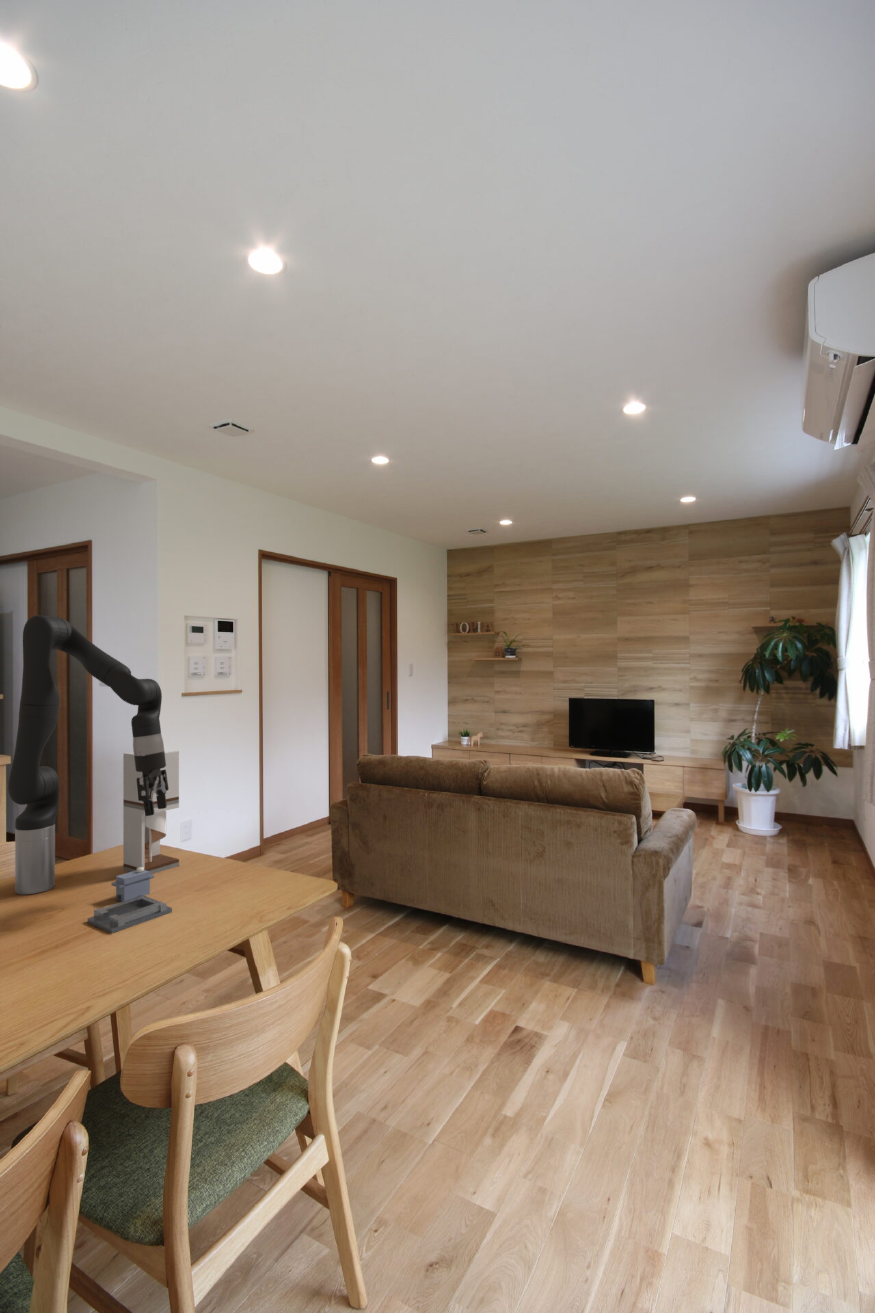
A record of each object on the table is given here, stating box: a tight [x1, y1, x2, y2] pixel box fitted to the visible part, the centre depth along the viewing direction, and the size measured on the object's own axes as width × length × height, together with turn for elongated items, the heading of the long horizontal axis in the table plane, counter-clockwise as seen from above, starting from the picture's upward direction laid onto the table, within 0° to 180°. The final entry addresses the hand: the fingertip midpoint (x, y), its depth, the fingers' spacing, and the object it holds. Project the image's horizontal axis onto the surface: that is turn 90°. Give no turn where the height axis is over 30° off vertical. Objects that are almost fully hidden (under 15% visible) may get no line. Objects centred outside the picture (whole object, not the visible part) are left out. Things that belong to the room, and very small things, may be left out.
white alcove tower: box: [122, 750, 180, 875], centre depth 191 cm, size 11×11×35 cm
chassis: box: [87, 895, 173, 934], centre depth 153 cm, size 15×11×2 cm
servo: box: [110, 867, 155, 902], centre depth 167 cm, size 10×4×7 cm, turn 145°
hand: (156, 812), depth 169 cm, fingers open, 8 cm apart
